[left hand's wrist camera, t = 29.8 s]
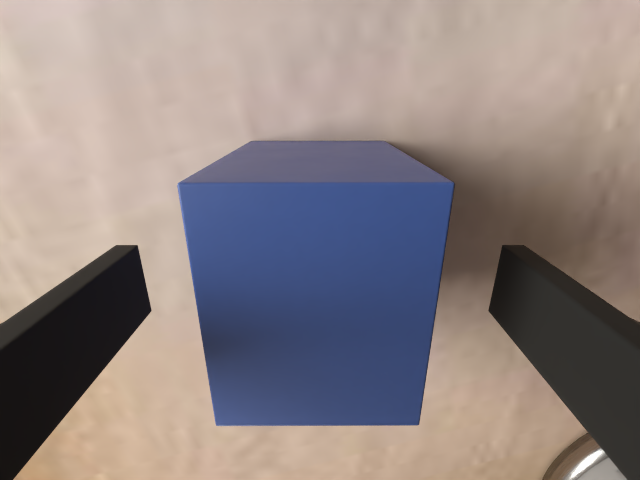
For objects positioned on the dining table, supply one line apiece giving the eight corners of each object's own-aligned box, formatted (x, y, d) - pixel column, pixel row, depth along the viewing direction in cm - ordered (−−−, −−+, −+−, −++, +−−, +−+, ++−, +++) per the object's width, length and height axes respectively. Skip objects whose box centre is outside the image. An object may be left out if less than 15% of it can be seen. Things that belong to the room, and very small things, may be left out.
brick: (375, 283, 20) (419, 426, 11) (260, 284, 20) (215, 427, 11) (385, 140, 17) (456, 182, 8) (249, 141, 17) (175, 183, 8)
